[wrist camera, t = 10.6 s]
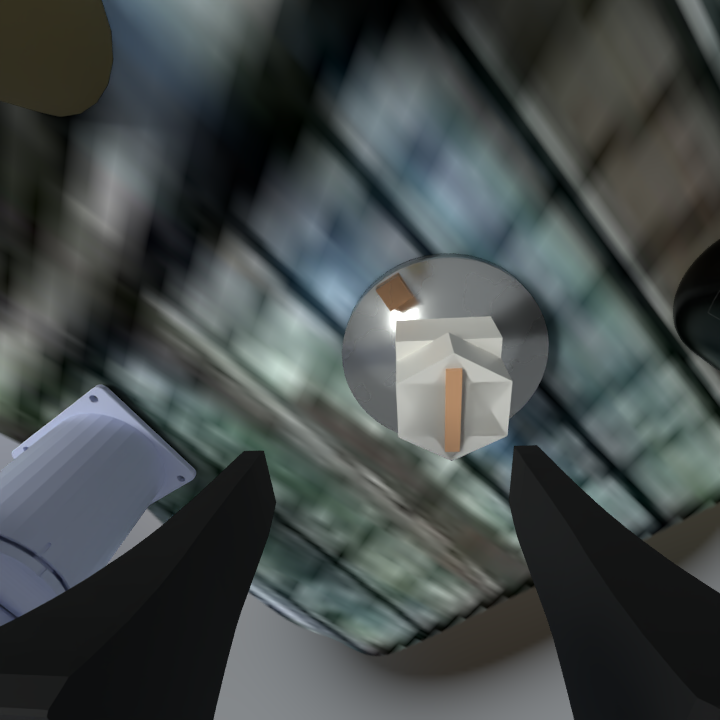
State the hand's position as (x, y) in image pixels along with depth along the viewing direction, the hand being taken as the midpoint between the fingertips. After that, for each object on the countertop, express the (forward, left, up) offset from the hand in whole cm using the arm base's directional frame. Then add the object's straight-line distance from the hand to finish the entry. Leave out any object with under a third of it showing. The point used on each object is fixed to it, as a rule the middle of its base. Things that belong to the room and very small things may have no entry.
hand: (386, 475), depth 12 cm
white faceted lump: (+2, -2, -9) cm, 10 cm away
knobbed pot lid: (+2, -2, -10) cm, 11 cm away
